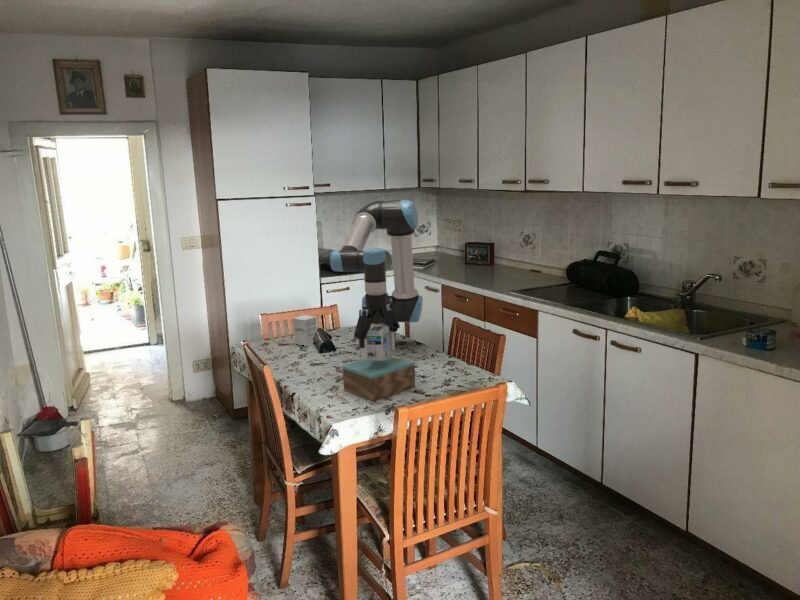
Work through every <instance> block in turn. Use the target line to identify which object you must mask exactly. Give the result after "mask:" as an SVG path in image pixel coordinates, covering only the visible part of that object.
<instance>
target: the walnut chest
mask: <svg viewBox="0 0 800 600" xmlns="http://www.w3.org/2000/svg"><path fill="white" fill-rule="evenodd" d="M415 367H416V366H415V365H414V366H411V367H408V368H404V369H401V370H398V371H395V372H392V373H389V374H386V375H383V376H380V377H376V378H373V379H370V378H368V377H365V376H362V375H359V374H356V373H353V372H350V371H347V370H345V369H343V368H342V376H343V390H344V391H346V392H348V393H350V394H353V395H354V396H355V395H356V396H358V397H360V398H363V399H366V400H368V401H371V402H375V401H377V400H378V401H379V400H380V398H381V399H383V397H384V398H386V397H388V396H389V397H390V396H392V395H395V394H398V393H400V392H403V391H407V390H409V389H412V388H415V387H416V371H415V370H416V369H415Z"/></svg>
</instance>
